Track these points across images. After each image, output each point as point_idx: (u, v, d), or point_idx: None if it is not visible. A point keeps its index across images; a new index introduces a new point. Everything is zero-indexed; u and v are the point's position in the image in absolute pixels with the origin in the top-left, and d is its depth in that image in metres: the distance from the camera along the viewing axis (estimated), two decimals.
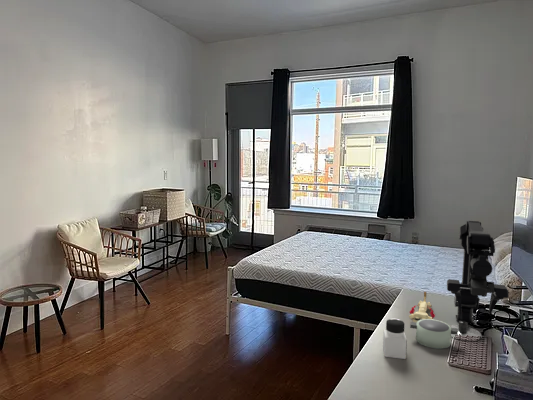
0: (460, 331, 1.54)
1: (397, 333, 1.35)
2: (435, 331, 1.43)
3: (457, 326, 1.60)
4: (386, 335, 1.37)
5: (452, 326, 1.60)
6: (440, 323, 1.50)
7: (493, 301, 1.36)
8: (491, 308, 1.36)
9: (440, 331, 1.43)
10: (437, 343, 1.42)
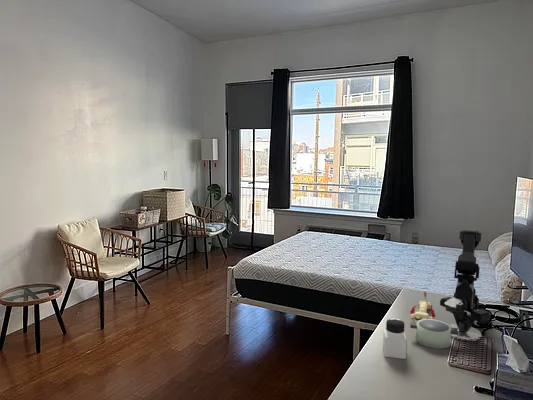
0: (460, 330, 1.54)
1: (397, 333, 1.35)
2: (435, 331, 1.43)
3: None
4: (386, 335, 1.37)
5: (452, 325, 1.60)
6: (440, 323, 1.50)
7: (465, 320, 1.51)
8: (465, 326, 1.52)
9: (440, 331, 1.43)
10: (437, 343, 1.42)
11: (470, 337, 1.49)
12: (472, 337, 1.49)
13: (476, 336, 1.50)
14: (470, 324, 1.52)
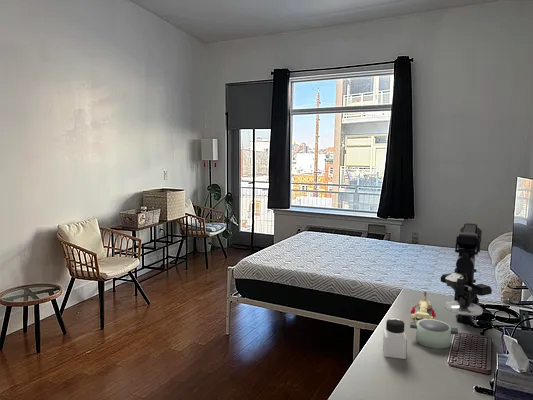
0: (461, 306, 1.53)
1: (397, 333, 1.35)
2: (435, 331, 1.43)
3: None
4: (386, 335, 1.37)
5: (453, 301, 1.58)
6: (440, 323, 1.50)
7: (466, 295, 1.50)
8: (466, 301, 1.51)
9: (440, 331, 1.43)
10: (437, 343, 1.42)
11: (471, 312, 1.48)
12: (473, 312, 1.48)
13: (477, 311, 1.49)
14: (471, 299, 1.51)
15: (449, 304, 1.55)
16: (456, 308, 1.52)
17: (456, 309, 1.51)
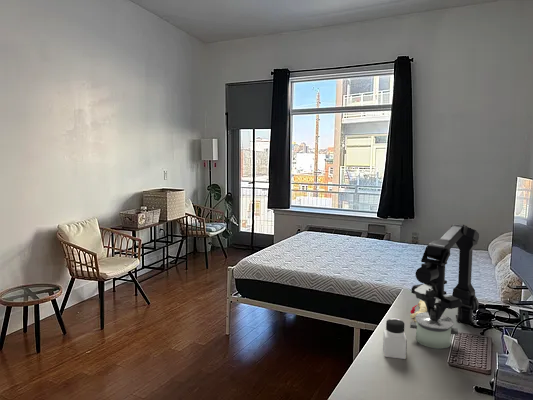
0: (431, 318, 1.47)
1: (397, 333, 1.35)
2: (435, 331, 1.43)
3: None
4: (386, 335, 1.37)
5: (424, 313, 1.53)
6: None
7: (436, 307, 1.44)
8: (436, 314, 1.45)
9: (440, 331, 1.43)
10: (437, 343, 1.42)
11: (441, 325, 1.42)
12: (443, 325, 1.42)
13: (447, 324, 1.43)
14: (441, 312, 1.45)
15: (419, 317, 1.50)
16: (426, 320, 1.46)
17: (426, 322, 1.45)
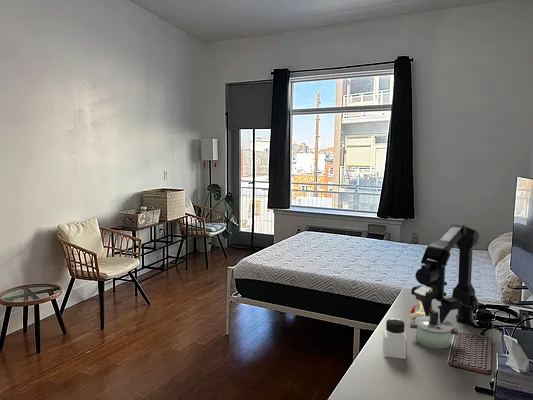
0: (431, 322, 1.47)
1: (397, 333, 1.35)
2: None
3: (429, 317, 1.53)
4: (386, 335, 1.37)
5: (424, 317, 1.53)
6: None
7: (440, 310, 1.43)
8: (440, 317, 1.44)
9: None
10: (437, 343, 1.42)
11: (440, 329, 1.42)
12: (443, 329, 1.42)
13: (447, 328, 1.43)
14: (445, 315, 1.43)
15: (419, 320, 1.50)
16: (426, 324, 1.46)
17: (425, 326, 1.45)
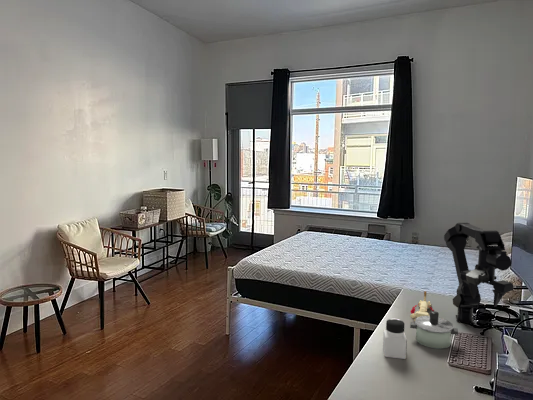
0: (431, 322, 1.47)
1: (397, 333, 1.35)
2: None
3: (429, 317, 1.53)
4: (386, 335, 1.37)
5: (424, 317, 1.53)
6: None
7: (494, 294, 1.47)
8: (494, 301, 1.48)
9: None
10: (437, 343, 1.42)
11: (440, 329, 1.42)
12: (443, 329, 1.42)
13: (447, 328, 1.43)
14: (499, 298, 1.47)
15: (419, 320, 1.50)
16: (426, 324, 1.46)
17: (425, 326, 1.45)
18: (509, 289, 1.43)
